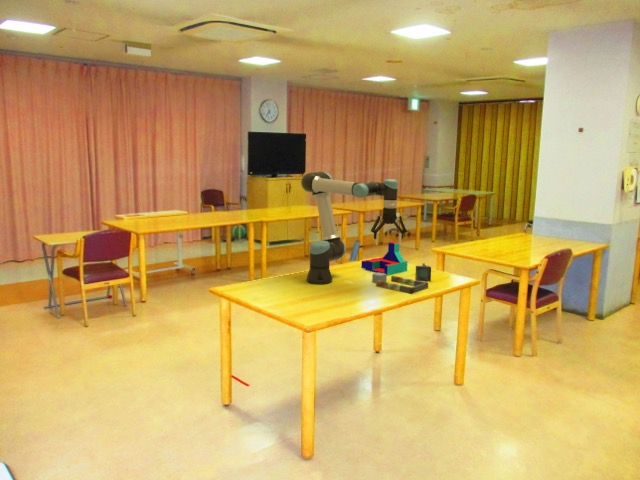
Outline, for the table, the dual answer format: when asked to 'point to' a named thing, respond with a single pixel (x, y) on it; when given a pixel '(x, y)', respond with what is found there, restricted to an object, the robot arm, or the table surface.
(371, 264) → the building blocks toy
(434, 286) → the table surface
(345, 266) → the table surface
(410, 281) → the channel rails
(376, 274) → the block
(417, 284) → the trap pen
